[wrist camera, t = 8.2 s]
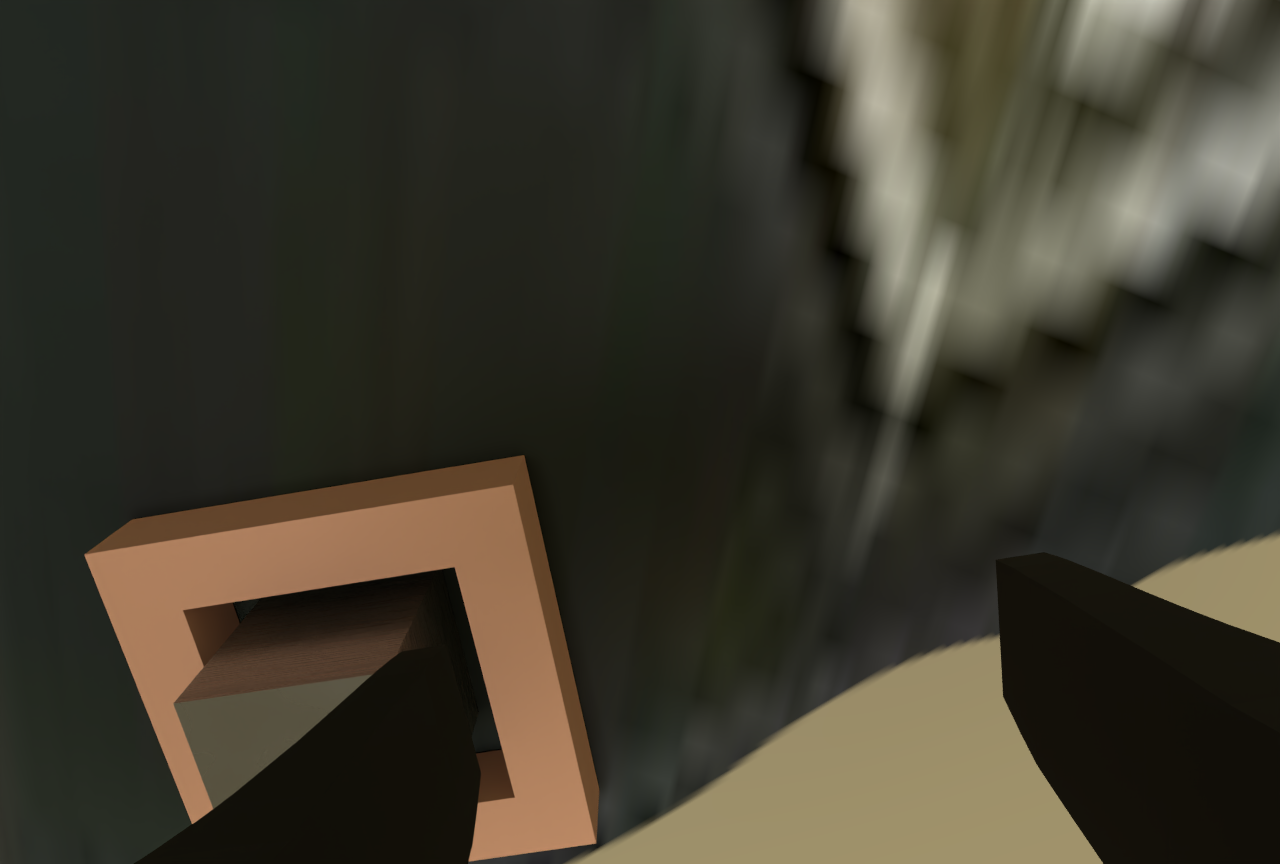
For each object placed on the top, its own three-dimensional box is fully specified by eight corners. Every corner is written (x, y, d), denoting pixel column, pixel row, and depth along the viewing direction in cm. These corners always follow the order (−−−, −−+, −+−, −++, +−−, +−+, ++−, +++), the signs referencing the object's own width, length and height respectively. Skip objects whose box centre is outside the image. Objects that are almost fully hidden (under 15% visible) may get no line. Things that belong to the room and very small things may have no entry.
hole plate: (252, 839, 25) (221, 896, 23) (132, 519, 22) (84, 554, 20) (599, 789, 25) (596, 843, 23) (524, 454, 22) (513, 484, 20)
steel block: (317, 733, 24) (239, 877, 19) (270, 587, 23) (173, 703, 18) (479, 710, 24) (439, 850, 19) (440, 561, 23) (388, 672, 18)
